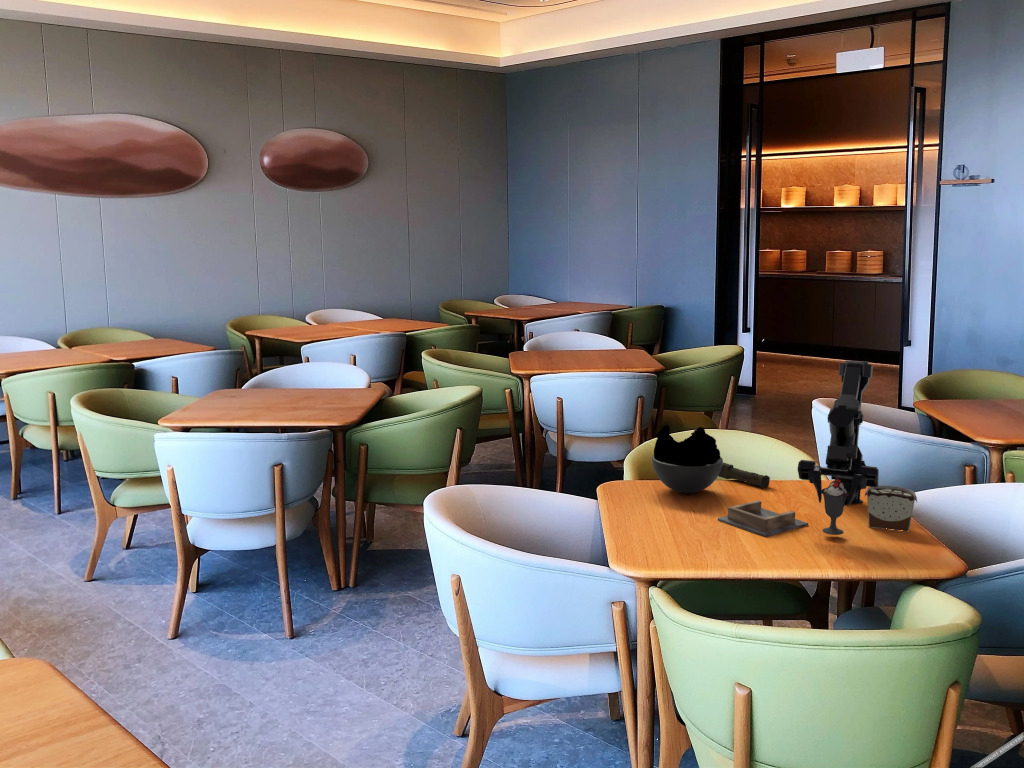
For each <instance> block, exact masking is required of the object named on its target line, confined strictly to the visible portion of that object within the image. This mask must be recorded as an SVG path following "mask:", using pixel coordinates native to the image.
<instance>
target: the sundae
mask: <svg viewBox="0 0 1024 768" xmlns="http://www.w3.org/2000/svg"><path fill="white" fill-rule="evenodd" d="M837 477H839V475H838V476H837ZM837 477H836V478H837ZM821 493H822V496H823V500H824V501H823V502H824V511H825V514H826V515H827V516H828V517H829V518H830V524H829V526H828V527H824V528H822V532H823V533H824V534H826V535H833V536H841V535H842V534H844V530H842V529H841V528H838V527H837V519H838V518H840V517H841V516H842V515H843V513H844V509H845V505H846V504H845V500H846V497H847V496H848V495H849V492H848V491H847V490H845V489H844V486H843V484H842V483H841V481H840V480H839V479H838V478H837V480H836V479H834V480H833V481H831V482H830V483H829V485H828V486H827V487H826V488H822V490H821Z"/></svg>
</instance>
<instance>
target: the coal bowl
mask: <svg viewBox="0 0 1024 768" xmlns="http://www.w3.org/2000/svg"><path fill="white" fill-rule="evenodd" d="M655 437H656V441H655V445H654V449H653V454H652V456H651V464H652V467H653V470H654V473H655V475H656V476H657V478H658V479H659V481H661V483H662V484H664V485H665V486H666V487H667V488H669V489H670V490H672V491H675V492H678V493H682V494H692V493H698V492H701V491H704V490H705V489H707V488H708V487H710V486H711V485H712V484H714V482H715V481H716V480H717V478H718V477H719V476H718V475H719V473H720V471H721V468H722V464H723V463H724V460H723V458H722V457H721V451H720V449H719V448H718V445H717V440H716V438H715V437H714V436H711V435H710V434H708V433H706V430H705V428H704V427H702V426H698V427H697V428H696V429H694V430H693V432H691V433H690V436H688V437H687V438H684V440H682V441H681V440H680V441H676V439H674V437H672V435H671V434H670V426H669V425H668V424H666V425H664V426H662V428H661V429H660V430H659V431H658V432H656V434H655Z"/></svg>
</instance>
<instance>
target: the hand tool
mask: <svg viewBox="0 0 1024 768" xmlns="http://www.w3.org/2000/svg"><path fill="white" fill-rule="evenodd" d="M718 477H719V478H723V479H725V480H731V479H732V480H736V481H739V482H742V481H746V482H745V483H746V484H750V485H753V486H756V487H760V488H761V490H763V489H767V488H768V487H769V486H770V480H771V477H770V476H768V475H763V474H758V473H756V472H753V471H752V472H751V471H747V470H742V469H740V468H736V467H734V465H733V464H730V463H727V462H723V464H722V468H721V471H720V473H719V475H718Z"/></svg>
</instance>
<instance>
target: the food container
mask: <svg viewBox="0 0 1024 768" xmlns="http://www.w3.org/2000/svg"><path fill="white" fill-rule="evenodd" d="M864 497H866V500H867V501H866V502H867V503H866V504H867V518H868V519H867V520H868V528H869V527H873V528H872V529H876V528H883V529H882V530H884V529H886V528H887V529H894V530H903V531H909V532H910V527H911V522H912V517H913V512H914V506H915V502H916V503H918V497H917V494H916V492H915V491H914V490H911V489H909V488H905V487H902V486H896V485H885V484H884V485H882V484H881V485H878V487H868V488H867V487H866V491H865V493H864Z"/></svg>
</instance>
